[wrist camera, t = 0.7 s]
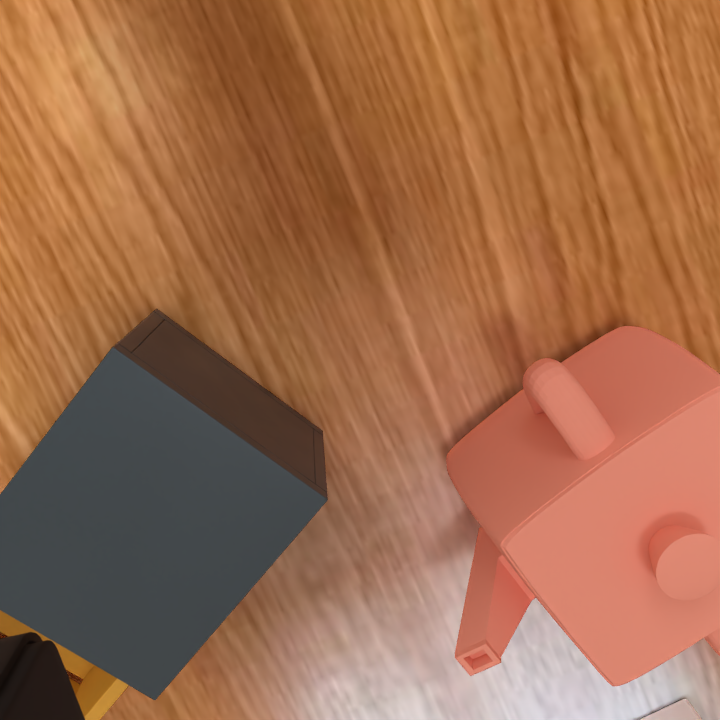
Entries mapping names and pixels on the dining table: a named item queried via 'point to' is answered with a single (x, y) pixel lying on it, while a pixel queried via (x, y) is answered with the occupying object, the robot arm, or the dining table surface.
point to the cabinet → (155, 505)
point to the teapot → (598, 506)
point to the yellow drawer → (77, 674)
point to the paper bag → (675, 712)
